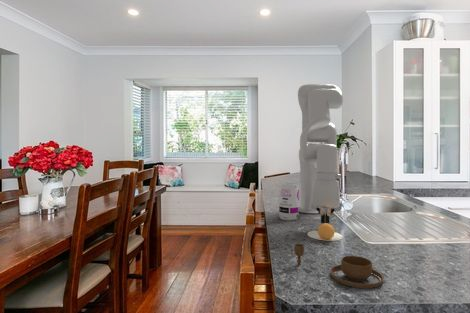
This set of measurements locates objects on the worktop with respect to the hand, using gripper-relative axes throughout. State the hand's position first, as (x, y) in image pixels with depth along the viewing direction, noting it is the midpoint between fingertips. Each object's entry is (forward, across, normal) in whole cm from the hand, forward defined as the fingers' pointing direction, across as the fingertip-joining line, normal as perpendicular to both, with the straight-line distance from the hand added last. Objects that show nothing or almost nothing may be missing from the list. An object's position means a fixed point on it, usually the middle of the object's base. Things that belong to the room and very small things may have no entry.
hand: (324, 225), depth 121 cm
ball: (-1, 0, +14) cm, 14 cm away
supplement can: (+2, +15, -13) cm, 20 cm away
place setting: (+2, -4, +41) cm, 41 cm away
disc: (+2, 0, +9) cm, 9 cm away
